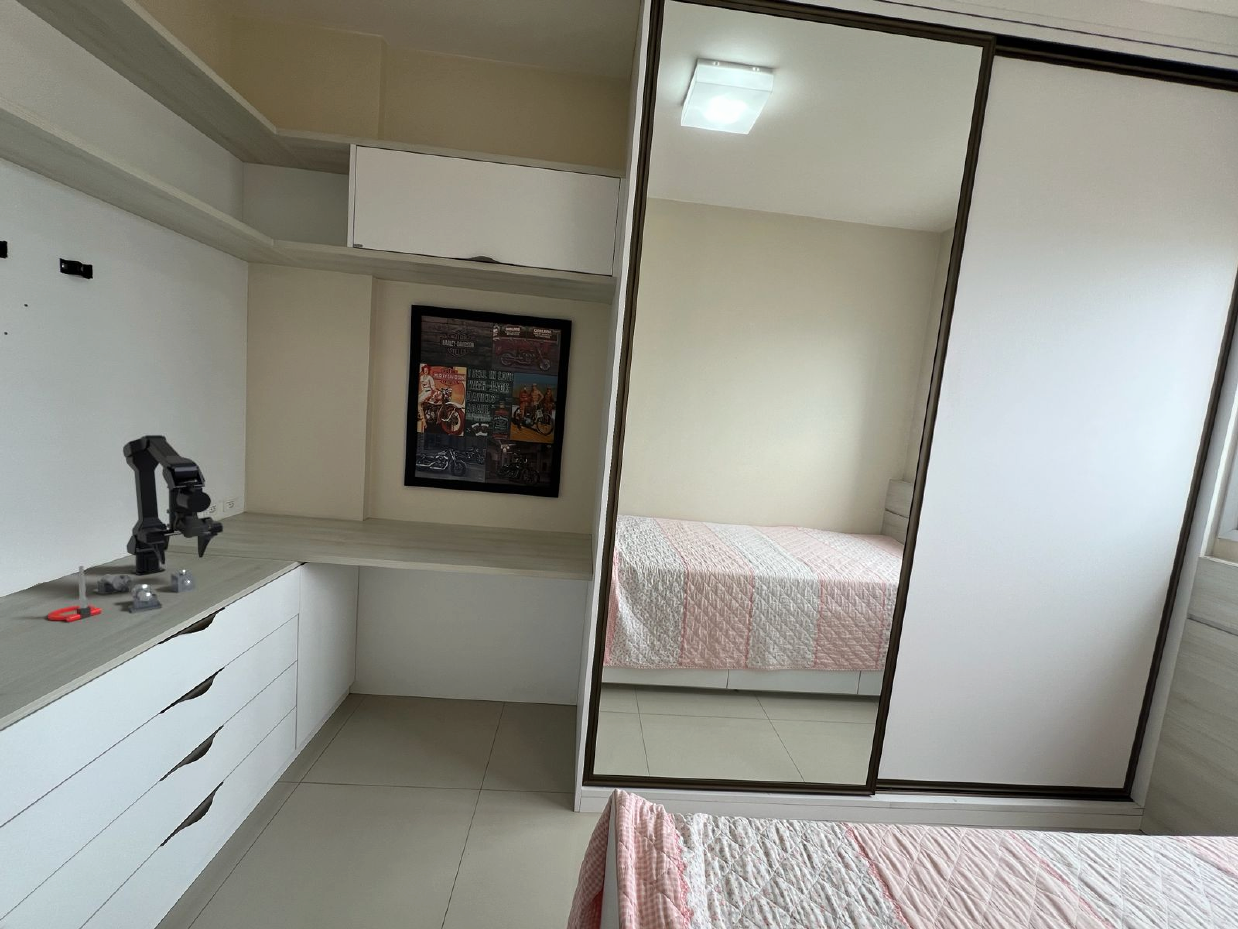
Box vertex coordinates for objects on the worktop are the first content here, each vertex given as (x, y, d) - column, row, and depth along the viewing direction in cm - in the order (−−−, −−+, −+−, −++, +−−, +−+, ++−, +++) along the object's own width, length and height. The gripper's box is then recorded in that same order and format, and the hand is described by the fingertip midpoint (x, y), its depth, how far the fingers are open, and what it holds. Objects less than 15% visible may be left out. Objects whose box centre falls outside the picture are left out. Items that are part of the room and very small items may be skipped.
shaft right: (162, 607, 149) (161, 588, 149) (132, 613, 145) (131, 593, 144) (155, 599, 154) (155, 581, 153) (126, 604, 149) (126, 585, 149)
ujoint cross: (168, 588, 162) (168, 569, 162) (185, 585, 166) (184, 566, 165) (180, 593, 159) (180, 574, 159) (196, 590, 163) (196, 570, 162)
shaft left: (92, 592, 156) (91, 574, 155) (116, 585, 161) (116, 568, 161) (110, 596, 154) (110, 578, 153) (135, 590, 159) (134, 572, 159)
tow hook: (39, 619, 138) (65, 624, 136) (35, 567, 137) (62, 571, 135) (80, 608, 146) (106, 612, 144) (77, 558, 145) (103, 562, 143)
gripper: (156, 516, 148) (157, 574, 150) (233, 506, 164) (233, 559, 166) (135, 509, 153) (136, 565, 155) (212, 500, 170) (213, 552, 171)
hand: (182, 560), depth 162 cm, fingers open, 9 cm apart
